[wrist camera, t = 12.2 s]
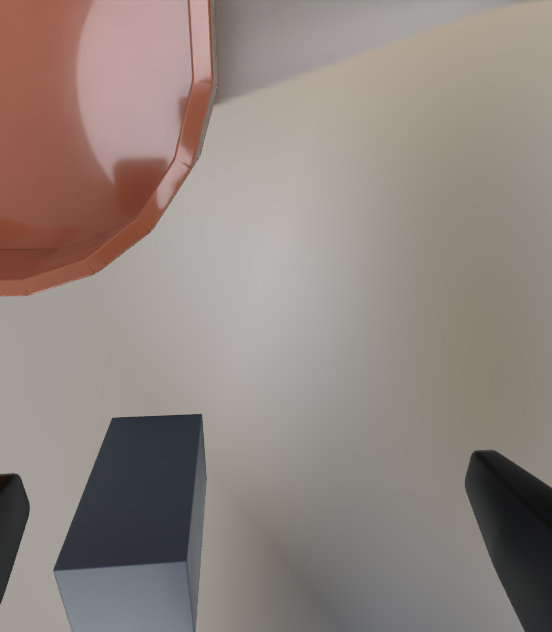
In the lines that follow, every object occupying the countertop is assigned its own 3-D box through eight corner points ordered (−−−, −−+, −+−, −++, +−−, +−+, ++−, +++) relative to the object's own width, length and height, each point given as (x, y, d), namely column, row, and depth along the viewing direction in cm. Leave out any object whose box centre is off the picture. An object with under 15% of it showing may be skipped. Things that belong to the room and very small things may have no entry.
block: (202, 413, 22) (187, 561, 15) (206, 479, 24) (195, 638, 17) (112, 417, 22) (52, 570, 15) (123, 483, 24) (76, 647, 17)
